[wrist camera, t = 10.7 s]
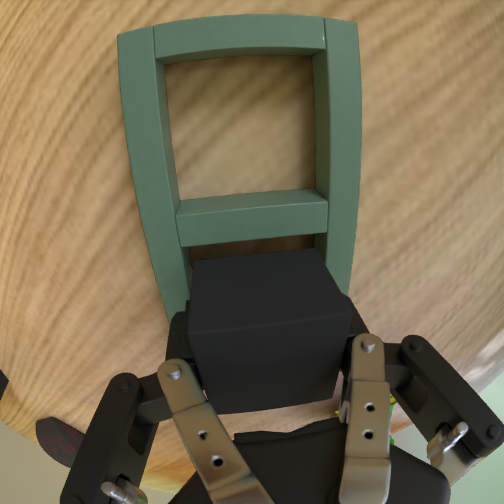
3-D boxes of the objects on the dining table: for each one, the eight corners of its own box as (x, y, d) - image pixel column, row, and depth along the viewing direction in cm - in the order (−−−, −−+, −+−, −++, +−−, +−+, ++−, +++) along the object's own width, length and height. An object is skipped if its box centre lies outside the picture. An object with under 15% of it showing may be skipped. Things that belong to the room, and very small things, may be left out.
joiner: (185, 344, 18) (183, 367, 16) (130, 42, 9) (116, 34, 8) (329, 327, 19) (338, 348, 17) (339, 30, 10) (357, 21, 8)
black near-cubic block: (211, 345, 15) (213, 415, 11) (194, 259, 13) (186, 333, 9) (309, 333, 16) (332, 398, 12) (315, 246, 13) (353, 311, 9)
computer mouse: (57, 414, 22) (49, 443, 19) (143, 461, 29) (141, 486, 25) (32, 421, 24) (24, 445, 20) (109, 465, 30) (106, 487, 27)
